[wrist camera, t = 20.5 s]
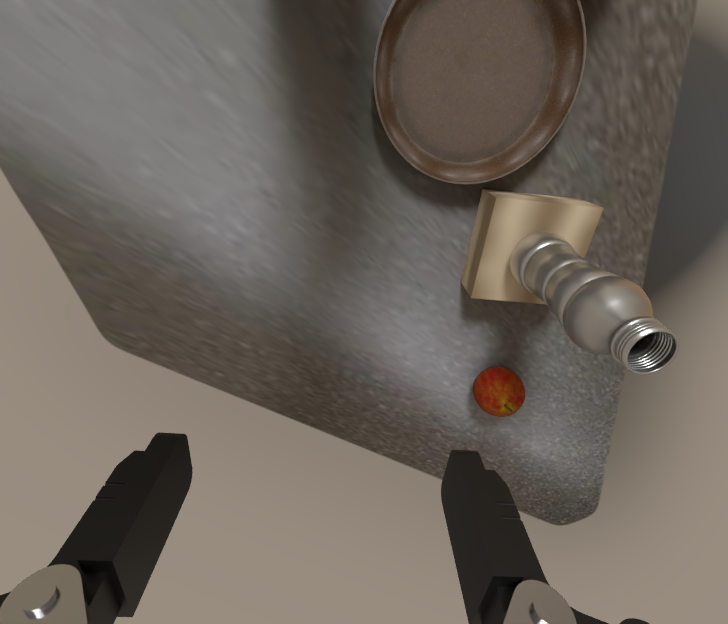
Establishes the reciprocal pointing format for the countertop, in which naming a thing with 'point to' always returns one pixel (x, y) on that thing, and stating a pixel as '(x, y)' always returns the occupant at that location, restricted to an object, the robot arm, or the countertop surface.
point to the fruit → (499, 391)
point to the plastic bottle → (593, 304)
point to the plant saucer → (477, 82)
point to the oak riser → (520, 238)
